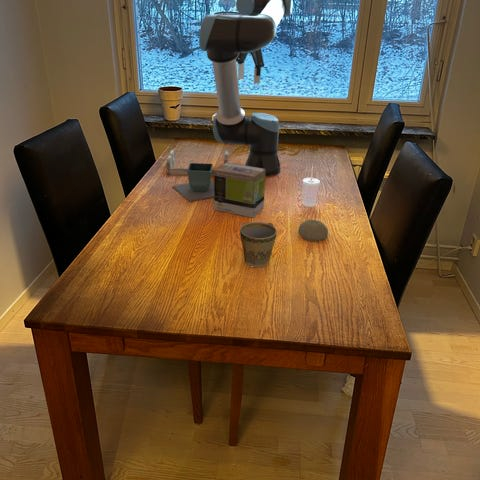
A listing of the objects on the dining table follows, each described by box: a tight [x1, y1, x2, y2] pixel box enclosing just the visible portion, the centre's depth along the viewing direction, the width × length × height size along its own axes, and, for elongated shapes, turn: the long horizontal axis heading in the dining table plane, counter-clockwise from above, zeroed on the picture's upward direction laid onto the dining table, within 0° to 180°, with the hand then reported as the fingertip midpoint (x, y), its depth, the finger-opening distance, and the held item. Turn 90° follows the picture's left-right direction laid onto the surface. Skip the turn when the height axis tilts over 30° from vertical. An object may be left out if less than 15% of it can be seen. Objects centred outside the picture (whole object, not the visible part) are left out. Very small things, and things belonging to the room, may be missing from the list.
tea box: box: [213, 162, 266, 219], centre depth 158 cm, size 15×10×15 cm
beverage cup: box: [301, 166, 321, 207], centre depth 164 cm, size 6×6×14 cm
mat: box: [171, 180, 214, 203], centre depth 175 cm, size 16×16×1 cm
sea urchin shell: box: [297, 219, 329, 242], centre depth 144 cm, size 9×8×8 cm
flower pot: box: [187, 162, 214, 192], centre depth 173 cm, size 9×9×9 cm
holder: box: [166, 148, 229, 177], centre depth 196 cm, size 16×24×6 cm, turn 89°
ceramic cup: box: [239, 221, 278, 268], centre depth 129 cm, size 13×10×10 cm
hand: (248, 81), depth 210 cm, fingers open, 13 cm apart
